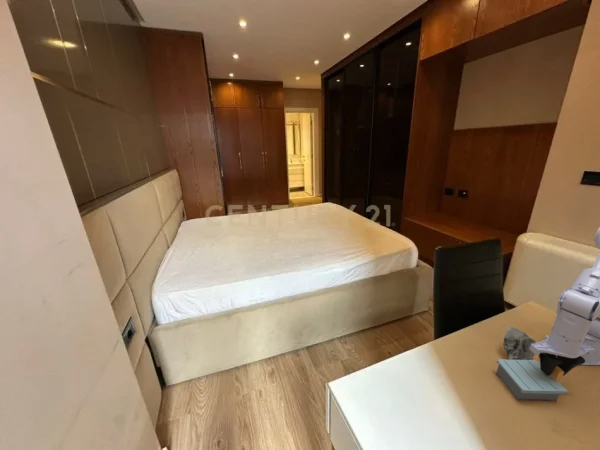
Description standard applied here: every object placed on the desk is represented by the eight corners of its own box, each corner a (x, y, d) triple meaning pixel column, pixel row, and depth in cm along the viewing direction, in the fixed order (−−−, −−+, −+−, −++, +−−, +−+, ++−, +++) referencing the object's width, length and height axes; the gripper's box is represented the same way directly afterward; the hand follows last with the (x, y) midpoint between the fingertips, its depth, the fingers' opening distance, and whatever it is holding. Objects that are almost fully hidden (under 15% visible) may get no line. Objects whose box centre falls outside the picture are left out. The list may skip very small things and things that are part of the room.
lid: (537, 362, 72) (541, 351, 71) (569, 394, 63) (575, 381, 62) (496, 361, 73) (499, 350, 72) (522, 393, 64) (526, 380, 62)
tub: (530, 374, 73) (534, 364, 72) (556, 401, 65) (560, 390, 64) (496, 373, 73) (499, 363, 72) (517, 400, 66) (521, 389, 65)
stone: (540, 341, 72) (512, 318, 81) (508, 358, 74) (485, 333, 84) (553, 359, 74) (524, 334, 84) (522, 375, 77) (497, 349, 86)
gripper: (580, 322, 66) (564, 360, 71) (525, 322, 67) (513, 360, 71) (611, 342, 60) (591, 382, 64) (550, 342, 60) (534, 382, 65)
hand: (551, 372), depth 67 cm, fingers open, 3 cm apart
